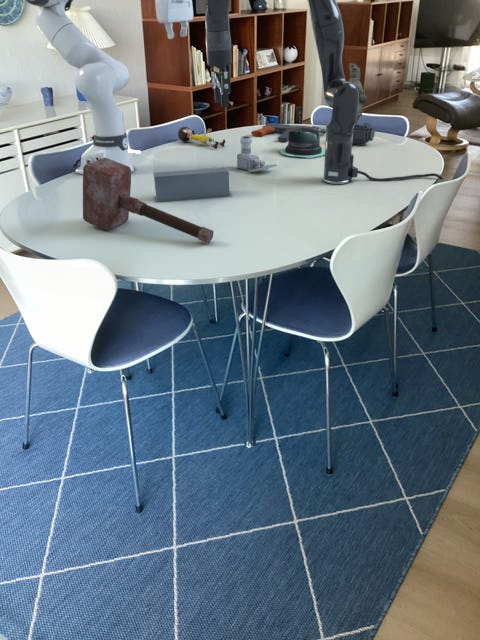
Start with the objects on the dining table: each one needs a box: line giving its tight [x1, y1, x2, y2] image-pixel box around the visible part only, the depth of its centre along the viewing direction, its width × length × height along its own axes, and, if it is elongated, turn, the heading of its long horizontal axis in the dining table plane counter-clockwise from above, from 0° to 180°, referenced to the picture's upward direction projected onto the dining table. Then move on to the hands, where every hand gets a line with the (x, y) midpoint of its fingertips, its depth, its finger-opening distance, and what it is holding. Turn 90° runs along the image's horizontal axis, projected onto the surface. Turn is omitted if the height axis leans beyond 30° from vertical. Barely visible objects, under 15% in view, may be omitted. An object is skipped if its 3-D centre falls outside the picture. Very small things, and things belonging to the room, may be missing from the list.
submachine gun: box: [250, 122, 326, 142], centre depth 262 cm, size 32×3×25 cm
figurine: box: [177, 126, 226, 150], centre depth 251 cm, size 13×8×25 cm
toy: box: [352, 122, 376, 146], centre depth 244 cm, size 9×9×15 cm
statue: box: [348, 62, 368, 125], centre depth 262 cm, size 11×9×30 cm
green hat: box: [279, 128, 325, 159], centre depth 234 cm, size 15×19×20 cm
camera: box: [236, 135, 277, 173], centre depth 210 cm, size 9×12×15 cm
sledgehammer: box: [82, 158, 214, 244], centre depth 155 cm, size 17×10×40 cm
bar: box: [153, 166, 231, 203], centre depth 185 cm, size 24×6×8 cm, turn 101°
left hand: (177, 37), depth 183 cm, fingers open, 8 cm apart
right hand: (221, 105), depth 174 cm, fingers open, 8 cm apart
